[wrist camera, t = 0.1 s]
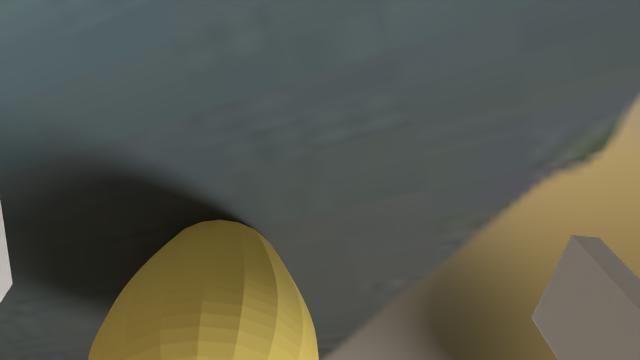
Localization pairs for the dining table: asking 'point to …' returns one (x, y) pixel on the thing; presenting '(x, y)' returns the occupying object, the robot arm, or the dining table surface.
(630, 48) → the dining table surface
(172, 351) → the vase
